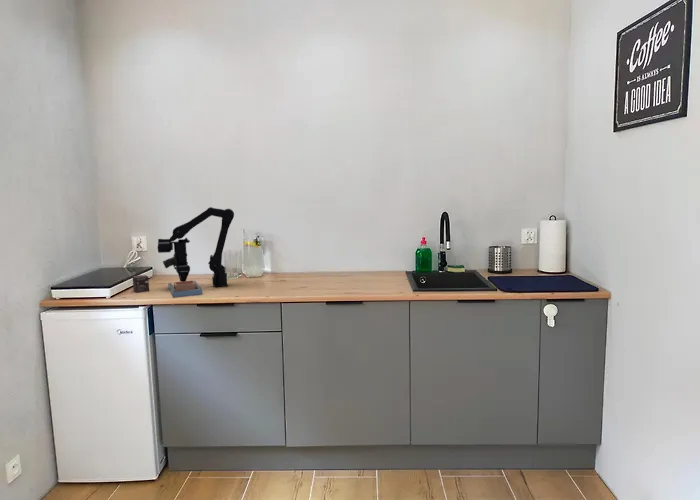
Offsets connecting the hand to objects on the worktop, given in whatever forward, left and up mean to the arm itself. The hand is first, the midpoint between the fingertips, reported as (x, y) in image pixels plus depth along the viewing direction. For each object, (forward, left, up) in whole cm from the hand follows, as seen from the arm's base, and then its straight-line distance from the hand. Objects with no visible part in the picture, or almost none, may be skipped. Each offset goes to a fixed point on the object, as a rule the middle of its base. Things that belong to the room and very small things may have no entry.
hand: (182, 282), depth 257 cm
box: (+19, -2, -3) cm, 19 cm away
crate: (0, +10, -2) cm, 10 cm away
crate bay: (0, +9, -3) cm, 9 cm away
